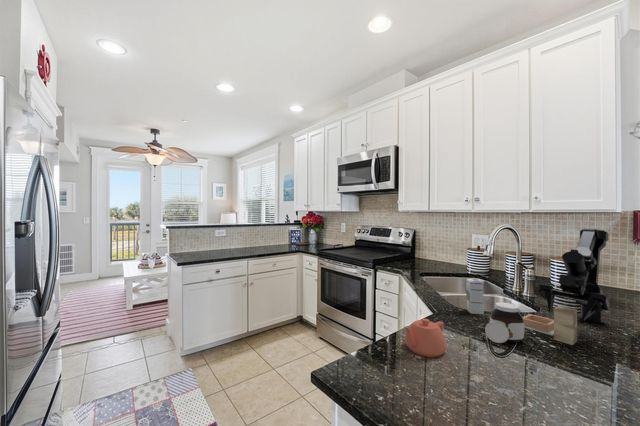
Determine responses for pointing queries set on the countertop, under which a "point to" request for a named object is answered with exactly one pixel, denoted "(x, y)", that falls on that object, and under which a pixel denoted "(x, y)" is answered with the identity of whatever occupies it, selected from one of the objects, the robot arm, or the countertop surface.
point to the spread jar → (505, 324)
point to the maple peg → (565, 325)
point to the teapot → (426, 338)
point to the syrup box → (474, 296)
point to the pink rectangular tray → (539, 324)
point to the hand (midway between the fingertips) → (565, 315)
